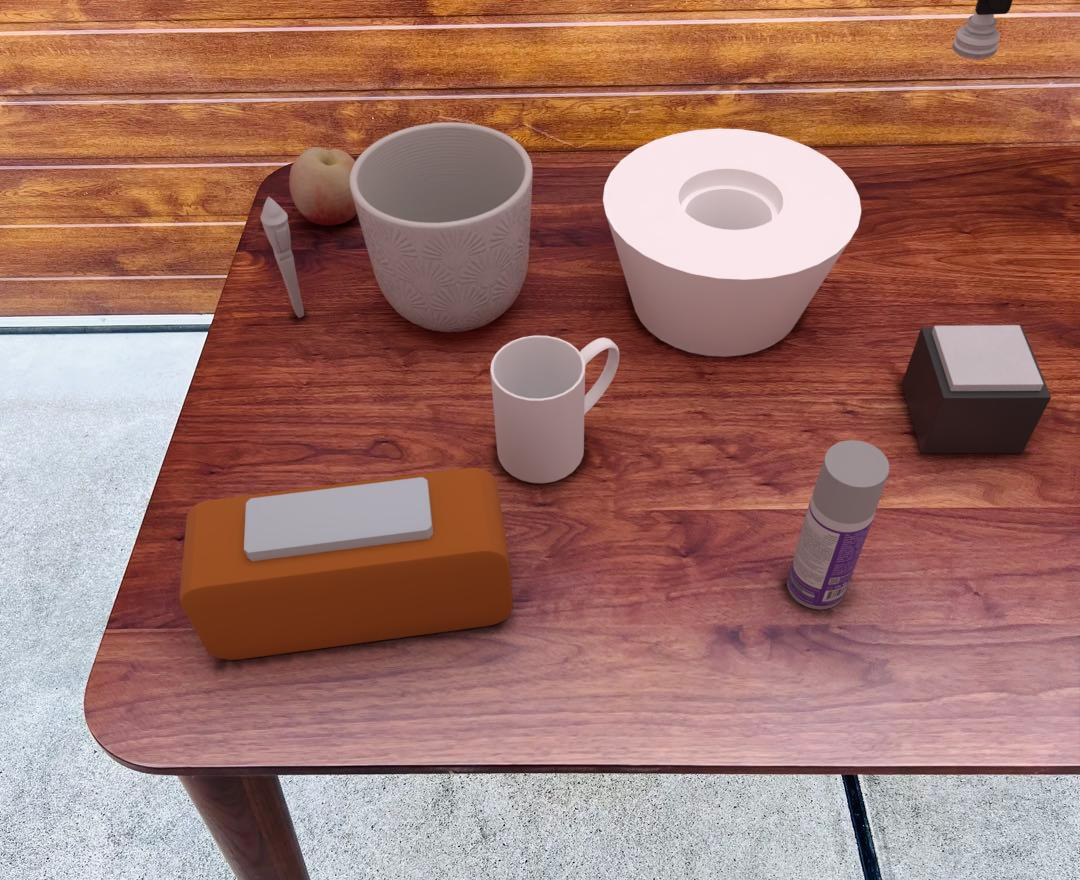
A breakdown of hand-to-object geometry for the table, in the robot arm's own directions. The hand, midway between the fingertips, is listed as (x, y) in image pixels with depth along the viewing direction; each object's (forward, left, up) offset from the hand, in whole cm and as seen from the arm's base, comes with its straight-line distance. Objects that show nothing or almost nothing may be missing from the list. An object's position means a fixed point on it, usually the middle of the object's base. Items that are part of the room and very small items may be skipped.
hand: (987, 3), depth 100 cm
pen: (+69, +23, -20) cm, 76 cm away
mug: (+42, +41, -20) cm, 62 cm away
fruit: (+68, +6, -20) cm, 72 cm away
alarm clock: (+58, +58, -20) cm, 85 cm away
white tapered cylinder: (+26, +21, -20) cm, 39 cm away
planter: (+53, +21, -20) cm, 61 cm away
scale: (+5, +38, -20) cm, 43 cm away
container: (+21, +57, -20) cm, 64 cm away
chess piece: (0, 0, -5) cm, 5 cm away
